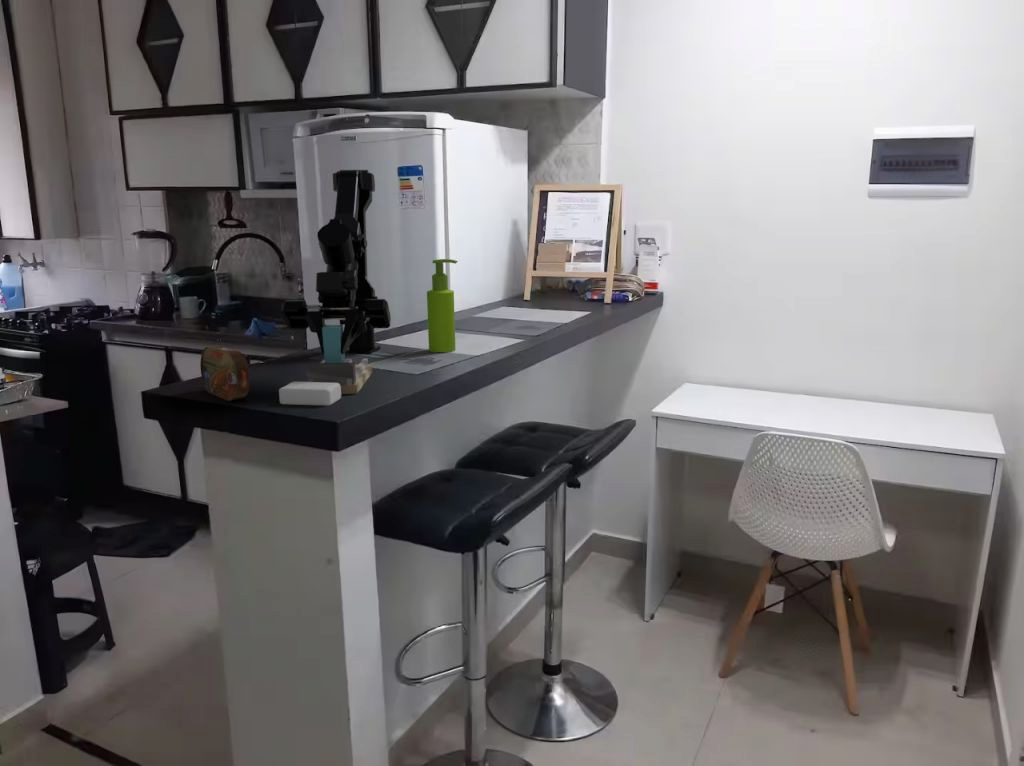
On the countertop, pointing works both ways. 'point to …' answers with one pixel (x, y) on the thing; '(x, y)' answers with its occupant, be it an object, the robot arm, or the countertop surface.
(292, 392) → the soap
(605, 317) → the countertop surface
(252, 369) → the countertop surface
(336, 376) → the guide rail
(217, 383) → the tin
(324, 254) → the robot arm
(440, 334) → the soap dispenser
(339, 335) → the sliding block
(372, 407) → the countertop surface
